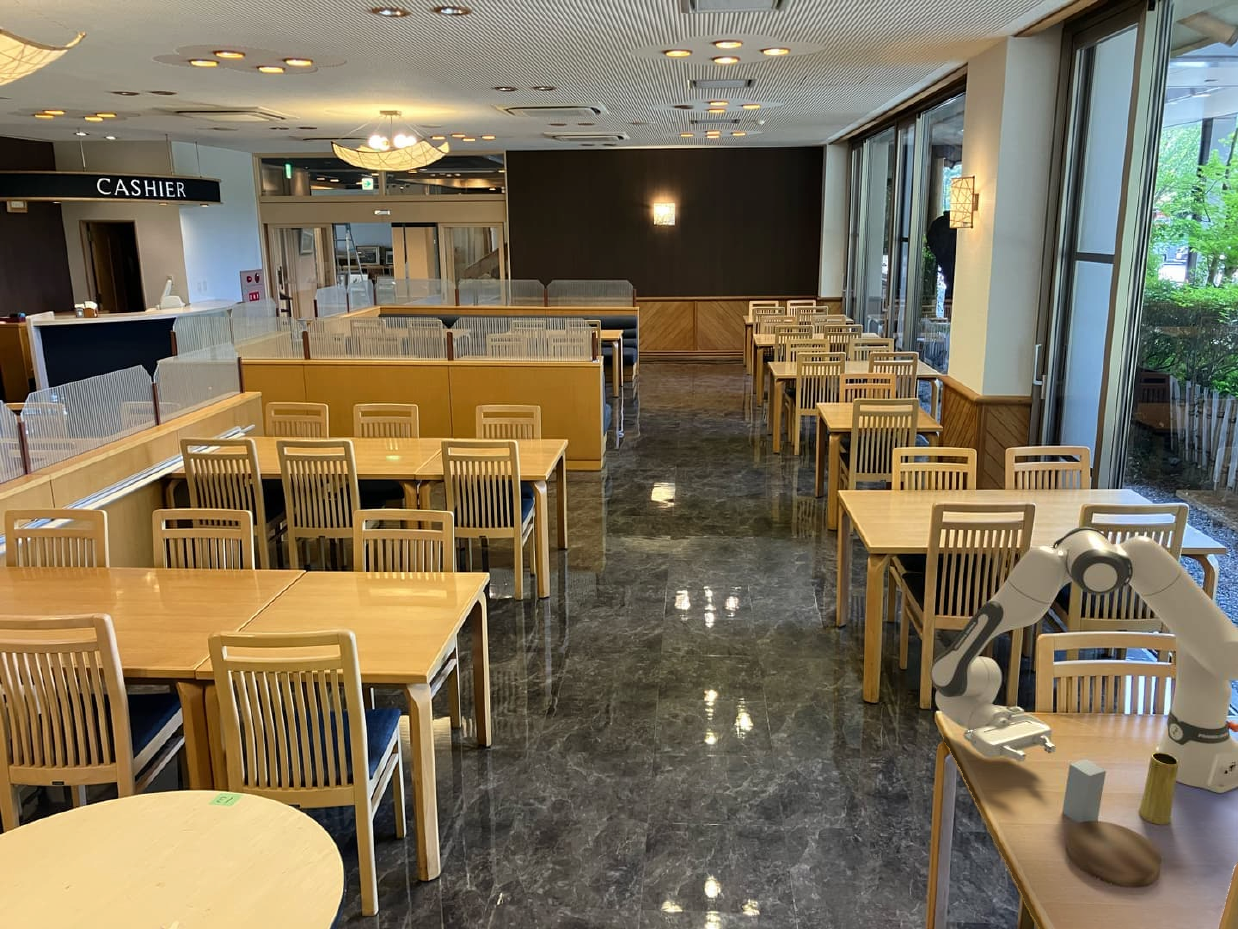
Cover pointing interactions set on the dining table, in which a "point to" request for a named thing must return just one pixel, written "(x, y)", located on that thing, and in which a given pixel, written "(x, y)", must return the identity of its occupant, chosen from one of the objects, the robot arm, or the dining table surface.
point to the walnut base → (1113, 854)
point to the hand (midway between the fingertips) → (1038, 754)
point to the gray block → (1083, 791)
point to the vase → (1159, 788)
